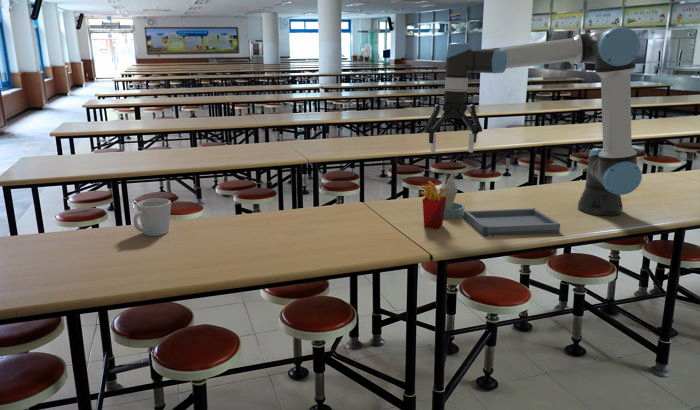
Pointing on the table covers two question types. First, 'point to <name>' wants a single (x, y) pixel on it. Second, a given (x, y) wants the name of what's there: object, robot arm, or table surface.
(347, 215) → the table surface
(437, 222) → the french fries
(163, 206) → the mug
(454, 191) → the soft serve swirl
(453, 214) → the teal ring
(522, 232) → the tray
